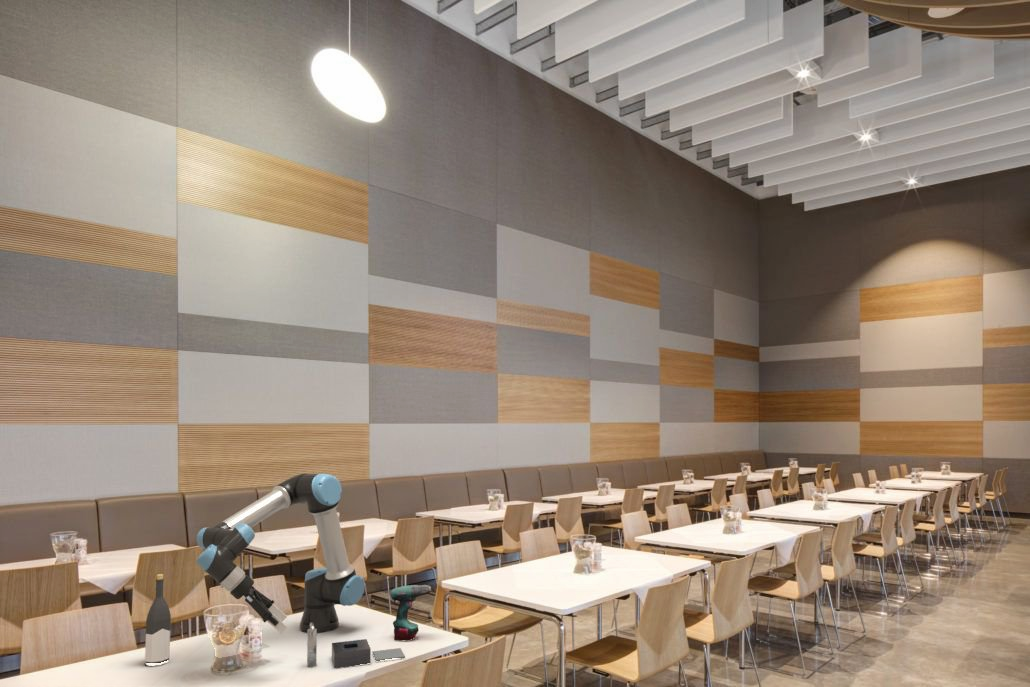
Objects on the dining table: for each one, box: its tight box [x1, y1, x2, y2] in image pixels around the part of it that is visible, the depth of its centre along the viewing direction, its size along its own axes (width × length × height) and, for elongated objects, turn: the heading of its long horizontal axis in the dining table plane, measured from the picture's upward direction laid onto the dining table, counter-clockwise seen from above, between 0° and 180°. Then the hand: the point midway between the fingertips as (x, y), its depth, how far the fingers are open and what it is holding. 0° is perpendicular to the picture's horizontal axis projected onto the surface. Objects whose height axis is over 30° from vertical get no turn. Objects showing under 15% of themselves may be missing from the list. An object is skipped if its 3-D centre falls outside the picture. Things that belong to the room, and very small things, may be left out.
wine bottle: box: [144, 573, 172, 663], centre depth 251 cm, size 8×8×30 cm
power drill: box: [389, 584, 432, 641], centre depth 272 cm, size 7×16×20 cm, turn 78°
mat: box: [371, 647, 406, 662], centre depth 251 cm, size 10×10×1 cm
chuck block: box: [331, 638, 372, 669], centre depth 247 cm, size 12×12×5 cm
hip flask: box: [306, 622, 318, 668], centre depth 243 cm, size 8×3×13 cm, turn 18°
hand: (284, 624), depth 241 cm, fingers open, 13 cm apart
